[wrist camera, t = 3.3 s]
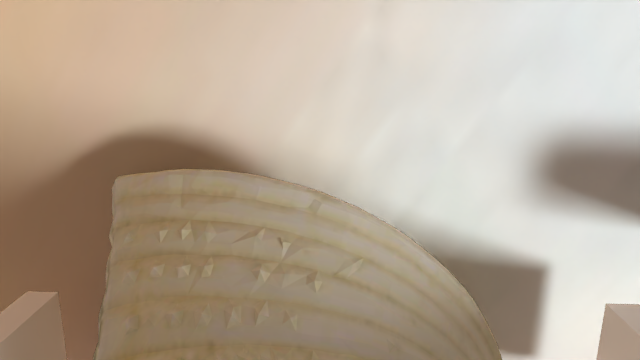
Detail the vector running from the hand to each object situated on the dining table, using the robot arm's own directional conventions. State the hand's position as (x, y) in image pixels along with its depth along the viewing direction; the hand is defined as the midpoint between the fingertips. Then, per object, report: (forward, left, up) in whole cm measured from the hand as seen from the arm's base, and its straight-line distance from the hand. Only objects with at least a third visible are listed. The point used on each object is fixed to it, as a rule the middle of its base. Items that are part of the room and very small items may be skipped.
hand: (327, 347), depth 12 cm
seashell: (-1, -1, -2) cm, 2 cm away
